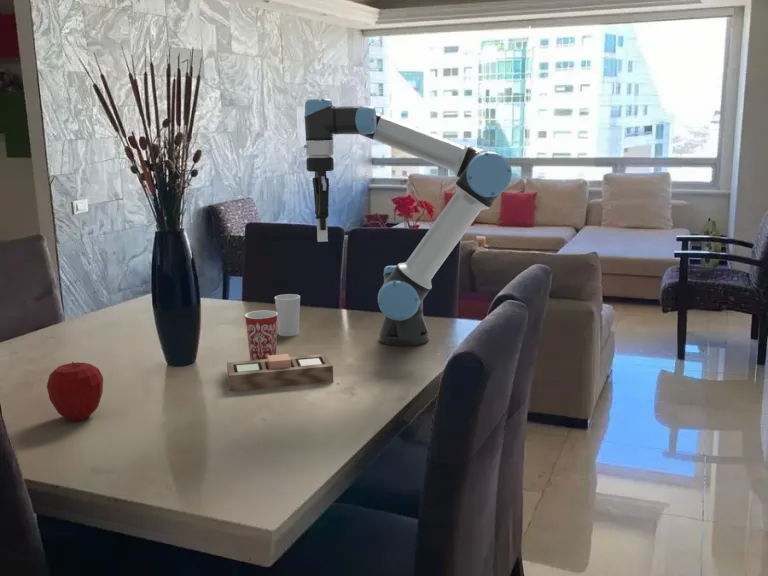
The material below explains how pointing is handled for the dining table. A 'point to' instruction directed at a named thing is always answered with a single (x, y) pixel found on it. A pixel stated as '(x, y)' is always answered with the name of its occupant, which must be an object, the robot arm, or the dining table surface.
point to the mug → (261, 333)
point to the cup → (288, 314)
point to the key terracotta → (279, 361)
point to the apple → (75, 390)
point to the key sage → (247, 367)
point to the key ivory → (309, 362)
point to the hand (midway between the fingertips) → (322, 241)
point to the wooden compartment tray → (279, 374)
